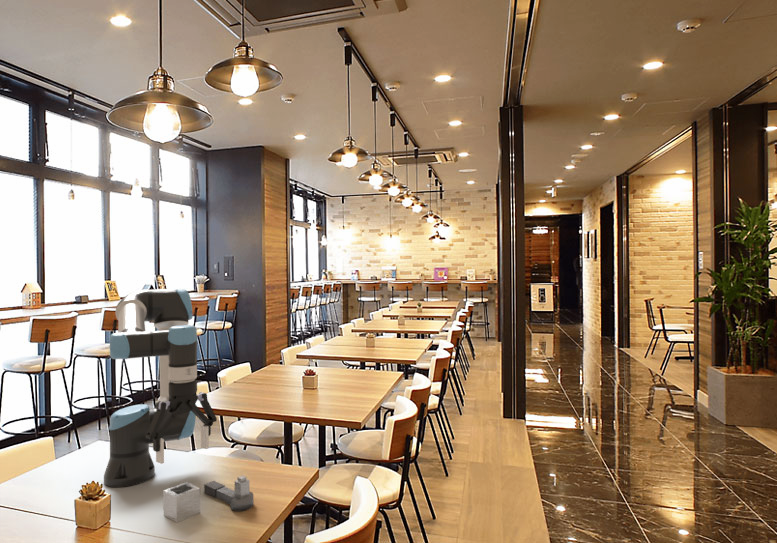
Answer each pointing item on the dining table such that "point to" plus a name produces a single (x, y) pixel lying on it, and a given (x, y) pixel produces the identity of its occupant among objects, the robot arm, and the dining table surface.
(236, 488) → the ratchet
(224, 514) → the dining table surface
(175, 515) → the socket
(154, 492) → the dining table surface
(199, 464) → the dining table surface
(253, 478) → the dining table surface
